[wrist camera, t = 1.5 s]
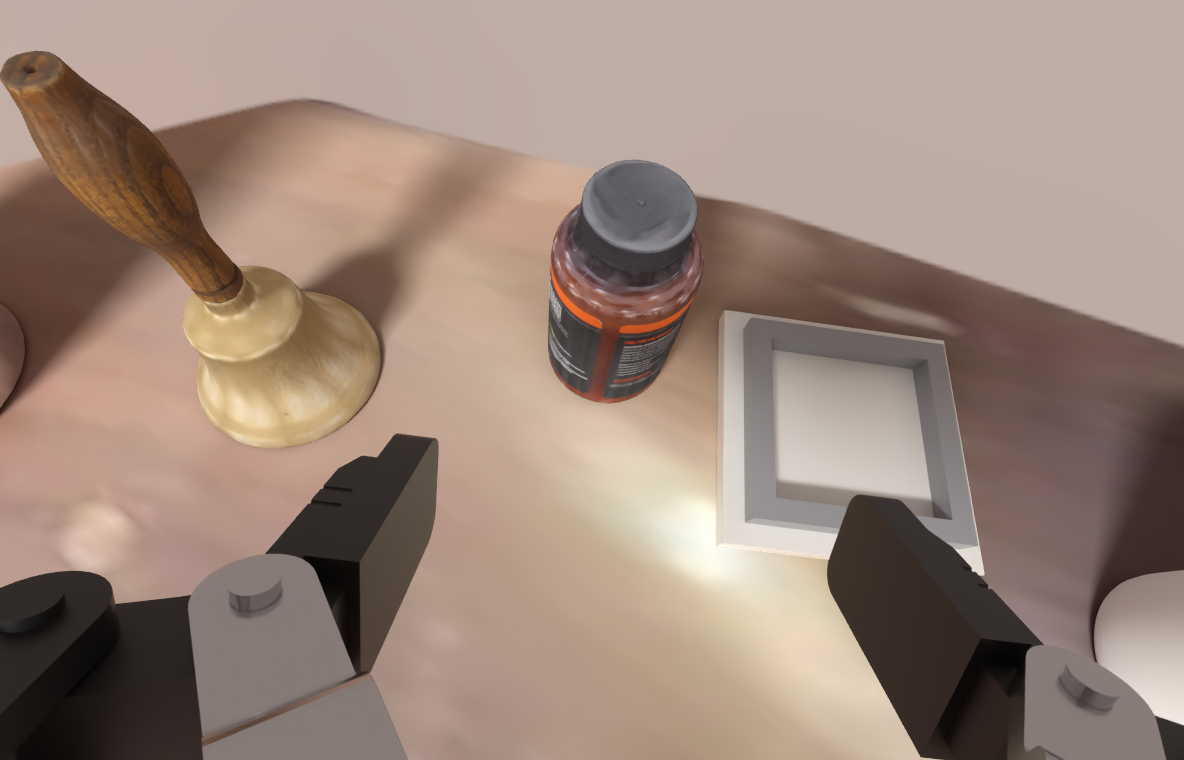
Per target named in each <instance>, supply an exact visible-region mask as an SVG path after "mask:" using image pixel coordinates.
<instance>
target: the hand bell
mask: <svg viewBox="0 0 1184 760" xmlns="http://www.w3.org/2000/svg"><path fill="white" fill-rule="evenodd" d="M0 79H1V82H2V83H3V84H4V86H5V87H6V89H7V90H8V91H9V93H10V95H11V96H12V98H13V100H14V101H15V103H16V105H17V106H18V108H19V110H20V111H21V113H22V115H23V118H24V120H25V122H26V125H27V127H28V129H29V132H30V134H31V136H32V138H33V141H34V142H35V144H36V146H37V148H38V149H39V151H40V153H41V155H42V157H43V158H44V160H45V161H46V163H47V164H48V165H49V167H50V168H51V170H52V171H53V172H54V174H55V175H56V176H57V178H58V179H59V180H60V181H61V183H62V184H63V185H64V186H65V187H66V188H67V189H68V190H69V191H70V192H71V193H72V194H73V195H74V196H75V197H76V198H77V199H78V200H79V201H80V202H81V203H82V204H84V205H85V206H86V207H87V208H88V209H89V210H91V211H92V212H93V213H94V214H95V215H97V216H98V217H99V218H100V219H102V220H103V221H104V222H106V223H107V224H108V225H110V226H111V227H113V228H114V229H116V230H117V231H119V232H121V233H122V234H124V235H126V236H127V237H129V238H131V239H133V240H135V241H137V242H139V243H141V244H143V245H145V246H147V247H149V248H151V249H152V250H154V251H156V252H157V253H158V254H160V255H161V256H162V257H163V258H165V259H166V260H167V261H168V262H169V263H170V264H171V265H172V267H173V268H174V269H175V270H176V271H177V273H178V274H179V275H180V276H181V277H182V278H183V280H184V281H185V282H186V283H187V284H188V285H189V286H190V287H191V289H192V290H193V291H194V293H193V294H192V295H191V297H190V299H189V301H188V303H187V305H186V307H185V311H184V315H183V326H184V331H185V334H186V336H187V339H188V341H189V342H190V343H191V345H192V346H193V347H194V348H195V349H196V351H197V352H198V353H199V354H200V356H201V357H200V359H199V363H198V368H197V391H198V396H199V400H200V404H201V406H202V408H203V410H204V412H205V414H206V415H207V417H208V419H209V420H210V421H211V422H212V423H213V424H214V425H215V427H216V428H218V429H219V430H220V431H221V432H223V433H224V434H226V435H227V436H229V437H230V438H232V439H234V440H236V441H238V442H241V443H244V444H247V445H251V446H256V447H262V448H286V447H293V446H299V445H303V444H307V443H310V442H313V441H315V440H318V439H321V438H323V437H325V436H326V435H328V434H330V433H332V432H334V431H335V430H337V429H339V428H340V427H341V426H343V425H344V424H346V423H347V422H348V421H349V420H350V419H351V418H352V417H354V415H355V414H356V413H357V412H358V411H359V410H360V409H361V408H362V407H363V405H364V404H365V403H366V402H367V400H368V398H369V397H370V395H371V393H372V391H373V389H374V387H375V385H376V382H377V380H378V376H379V372H380V366H381V354H380V345H379V341H378V338H377V336H376V333H375V331H374V328H373V327H372V325H371V324H370V323H369V321H368V320H367V319H366V318H365V317H364V315H363V314H362V313H360V312H359V311H358V310H357V309H356V308H354V307H353V306H351V305H350V304H348V303H346V302H344V301H342V300H340V299H338V298H335V297H332V296H329V295H326V294H321V293H317V292H310V291H301V290H300V289H299V288H298V287H297V286H296V284H295V283H294V282H293V281H292V280H291V279H289V278H288V277H287V276H285V275H284V274H282V273H280V272H278V271H275V270H273V269H270V268H266V267H259V266H243V267H237V266H236V265H235V264H234V263H233V262H232V261H231V260H230V258H229V257H228V256H227V255H226V254H225V253H224V252H223V251H222V249H221V248H220V247H219V246H218V245H217V244H216V243H215V242H214V240H213V239H212V238H211V237H210V236H209V234H208V233H207V231H206V230H205V228H204V226H203V224H202V221H201V219H200V215H199V211H198V207H197V204H196V201H195V198H194V195H193V193H192V191H191V189H190V187H189V185H188V183H187V182H186V180H185V178H184V176H183V174H182V172H181V171H180V169H179V168H178V166H177V165H176V163H175V162H174V160H173V159H172V158H171V156H170V155H169V154H168V152H167V151H166V150H165V148H164V147H163V146H162V144H161V143H160V141H159V140H158V139H157V138H156V137H155V136H154V135H153V133H152V132H151V131H150V130H149V129H148V128H147V127H146V126H145V125H143V124H142V123H141V122H140V121H139V120H138V119H137V118H135V116H133V115H132V114H131V113H129V112H128V111H127V110H126V109H124V108H123V107H122V106H120V105H119V104H118V103H116V102H115V101H114V100H112V99H111V98H109V97H108V96H106V95H105V94H103V93H102V92H101V91H99V90H98V89H96V88H95V87H93V86H92V85H91V84H89V83H88V82H87V81H85V80H84V79H83V78H81V77H80V76H79V75H78V74H77V73H76V72H75V71H73V70H72V69H71V68H70V67H69V66H68V65H66V64H65V63H64V62H63V61H62V60H61V59H60V58H59V57H57V56H56V55H54V54H52V53H50V52H44V51H32V52H25V53H22V54H18V55H15V56H13V57H11V58H9V59H8V60H7V61H6V62H5V64H4V66H3V68H2V71H1V73H0Z"/></svg>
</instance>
